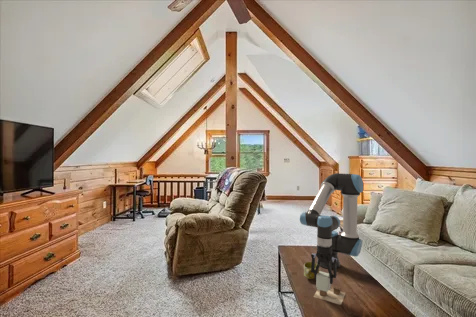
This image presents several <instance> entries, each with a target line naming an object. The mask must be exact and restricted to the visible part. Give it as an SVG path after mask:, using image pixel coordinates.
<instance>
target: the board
mask: <svg viewBox="0 0 476 317" xmlns="http://www.w3.org/2000/svg"><path fill="white" fill-rule="evenodd" d="M341 288H342V287H341V286H338V285H334V286H333V288H331V289H330V291H329V290H328V292H327V295H326V297H324V296H321V295H320V290H318V289H316V291H315V293H314V295H313V298H315V299H320V300H322V301H323V300H324V301H326V302H329V303H333V304H336V305H339V306H342V304H343V301H344V299H345V296H346V292H344V291H341Z"/></svg>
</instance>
